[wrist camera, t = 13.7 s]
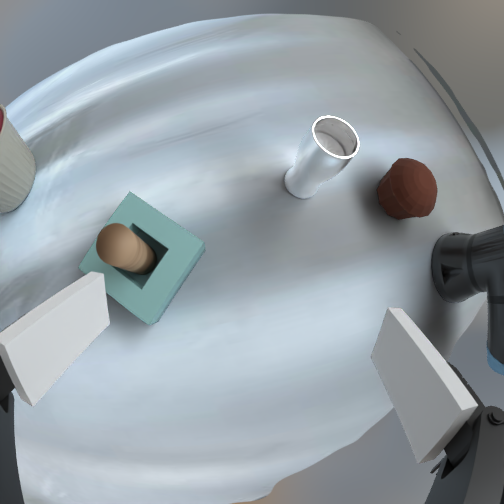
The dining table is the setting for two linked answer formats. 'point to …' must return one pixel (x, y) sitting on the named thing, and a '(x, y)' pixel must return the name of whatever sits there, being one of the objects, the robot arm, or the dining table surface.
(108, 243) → the dowel pin
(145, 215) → the socket block
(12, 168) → the canister
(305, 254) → the dining table surface
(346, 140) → the beer glass
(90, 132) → the dining table surface
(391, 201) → the muffin
